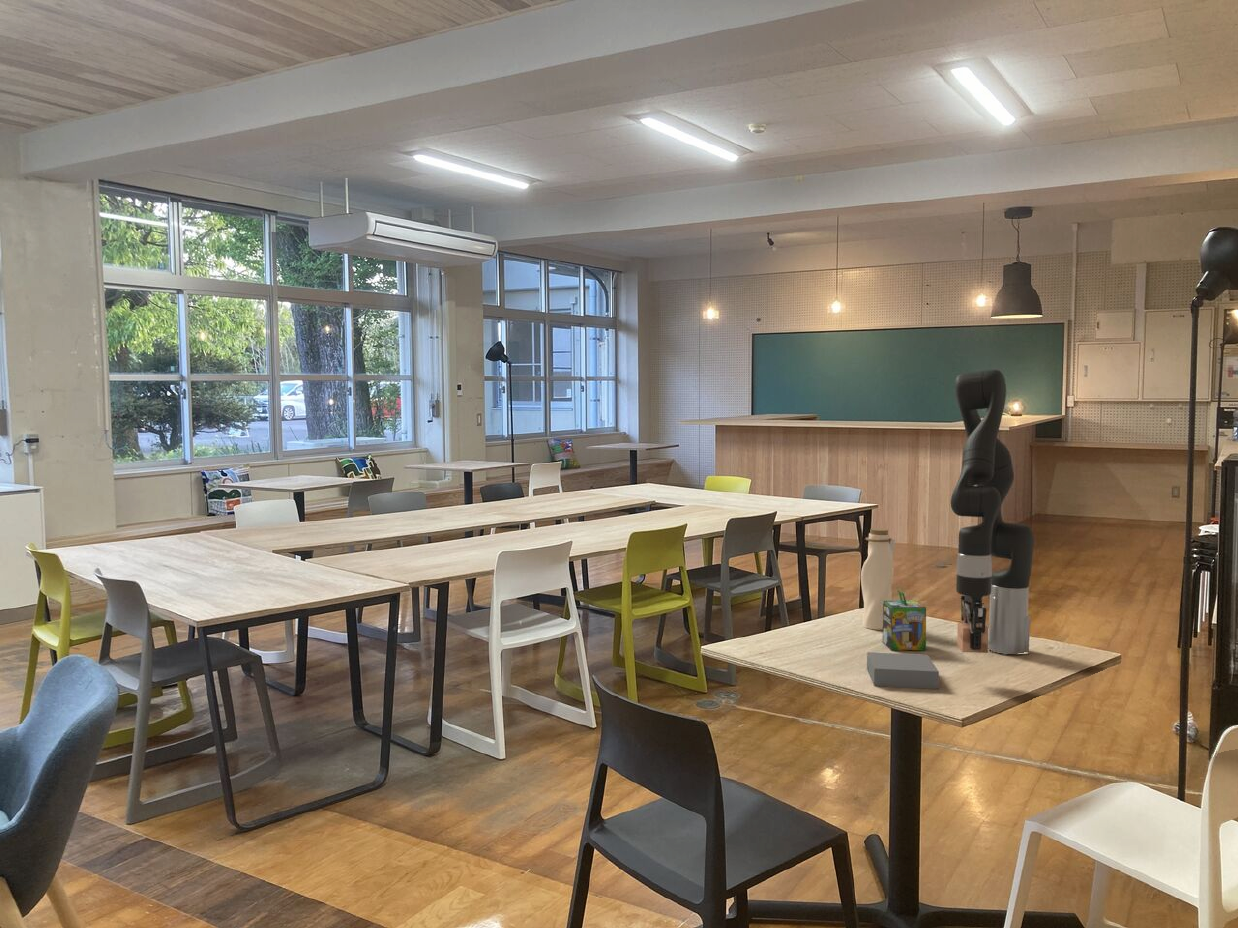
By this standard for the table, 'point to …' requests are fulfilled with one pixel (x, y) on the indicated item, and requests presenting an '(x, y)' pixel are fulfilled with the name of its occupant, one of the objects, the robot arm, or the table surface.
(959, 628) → the terracotta cube
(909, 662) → the charcoal base
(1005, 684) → the table surface
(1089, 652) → the table surface
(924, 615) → the chalk box
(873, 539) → the water bottle
